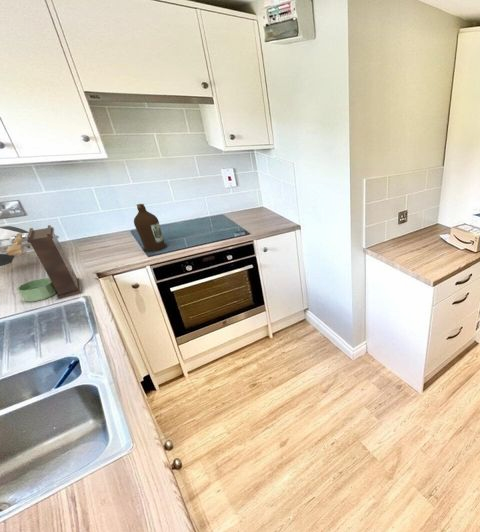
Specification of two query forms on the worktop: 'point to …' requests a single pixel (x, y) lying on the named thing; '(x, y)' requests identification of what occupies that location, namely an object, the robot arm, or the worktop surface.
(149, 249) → the olive oil
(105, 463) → the worktop surface
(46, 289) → the bowl
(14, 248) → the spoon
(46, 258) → the dark wood pillar
